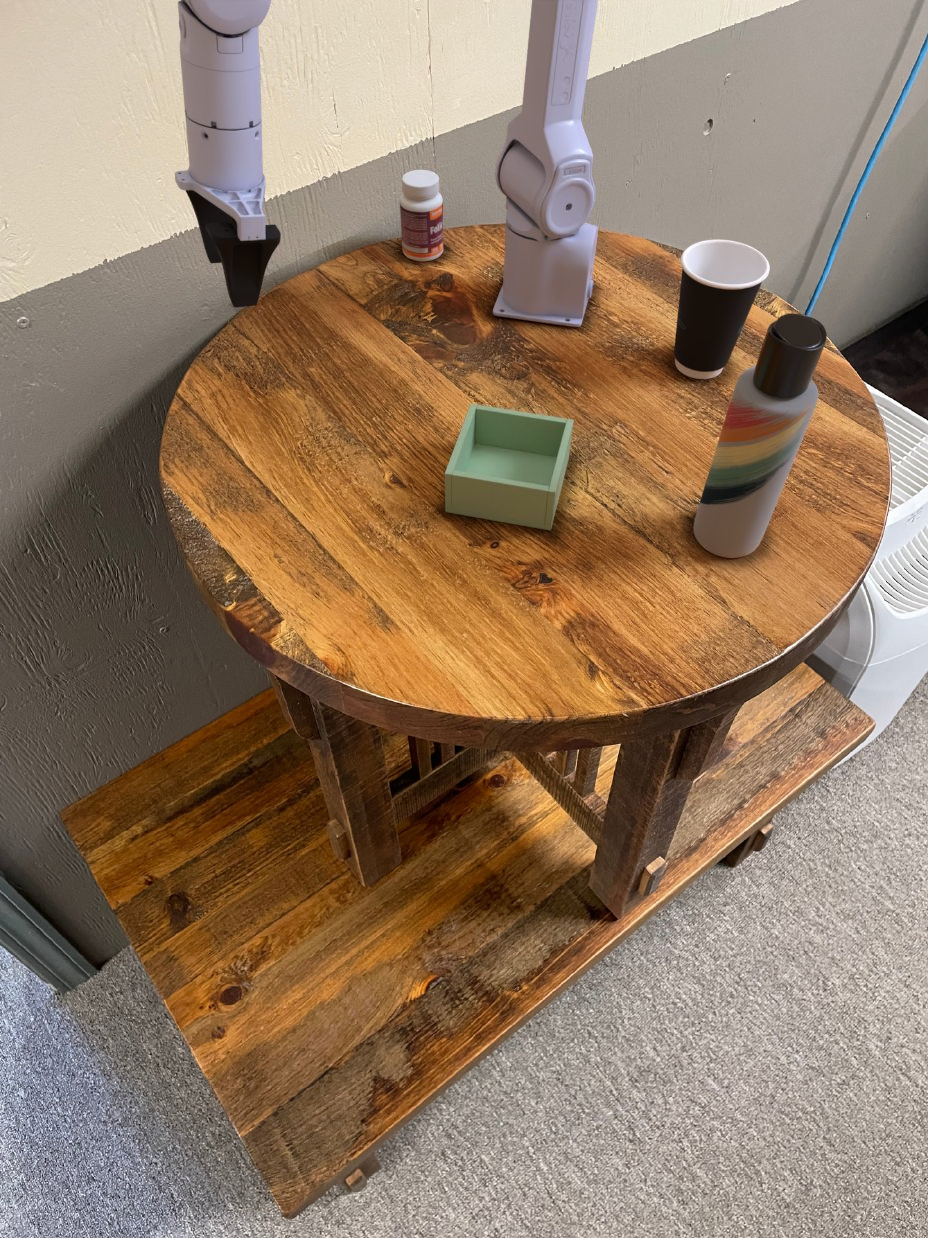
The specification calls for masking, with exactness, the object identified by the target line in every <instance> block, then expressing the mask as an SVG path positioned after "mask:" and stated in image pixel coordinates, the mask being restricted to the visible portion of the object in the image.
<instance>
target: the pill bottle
mask: <svg viewBox="0 0 928 1238" xmlns="http://www.w3.org/2000/svg"><path fill="white" fill-rule="evenodd" d="M401 191H402V192H401V194H400V196H399V213H400V230H401V231H400V232H401V247H402V249H401V250H402V253H403V255H404V256H405V257H406V258H408V259H410V260H412V261H416V262H430V261H433V260H434V261H435V259H438V258H439V257H440V256H442V254H443V252H444V200H443V199H444V198H443V195H442V194H441V193H440V177H439V175H438V174H437V173H436V172H434V171H431V170H428V169H414V170H410V171H407V172H406V173H404V174H403V175H402V177H401Z"/></svg>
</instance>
